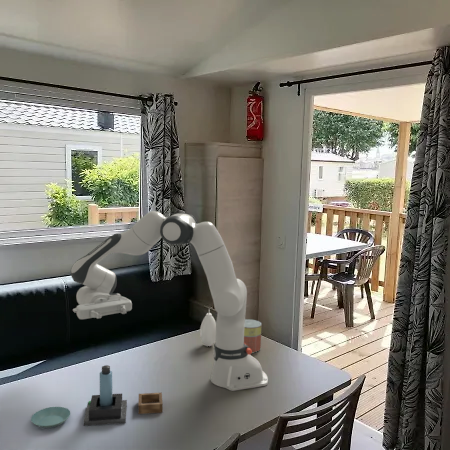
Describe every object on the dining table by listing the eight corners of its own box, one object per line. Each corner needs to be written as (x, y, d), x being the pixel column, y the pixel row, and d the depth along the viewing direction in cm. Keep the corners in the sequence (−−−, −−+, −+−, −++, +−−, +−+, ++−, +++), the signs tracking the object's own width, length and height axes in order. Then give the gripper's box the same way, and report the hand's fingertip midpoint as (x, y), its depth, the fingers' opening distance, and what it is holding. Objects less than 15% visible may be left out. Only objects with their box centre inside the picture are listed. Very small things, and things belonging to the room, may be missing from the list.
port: (126, 404, 159) (126, 391, 158) (125, 423, 147) (125, 409, 147) (87, 406, 157) (87, 394, 156) (83, 425, 145) (83, 412, 144)
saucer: (23, 423, 146) (23, 416, 146) (57, 408, 155) (57, 402, 155) (44, 437, 139) (44, 430, 139) (77, 421, 148) (77, 414, 148)
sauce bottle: (210, 350, 208) (211, 311, 206) (196, 346, 212) (197, 308, 210) (219, 345, 214) (221, 307, 212) (206, 341, 219) (207, 304, 216)
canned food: (242, 342, 219) (243, 317, 218) (264, 346, 214) (265, 321, 213) (232, 350, 209) (232, 324, 208) (254, 355, 204) (255, 329, 203)
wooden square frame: (161, 400, 162) (161, 392, 162) (162, 412, 154) (162, 403, 154) (138, 401, 161) (138, 393, 160) (138, 414, 153) (138, 405, 153)
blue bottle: (112, 406, 154) (112, 364, 152) (111, 413, 150) (111, 369, 148) (100, 407, 153) (100, 364, 152) (99, 413, 150) (99, 370, 148)
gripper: (70, 300, 170) (83, 310, 159) (122, 292, 182) (137, 300, 171) (71, 317, 170) (83, 327, 159) (123, 308, 182) (138, 317, 171)
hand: (112, 313), depth 165 cm, fingers open, 8 cm apart
